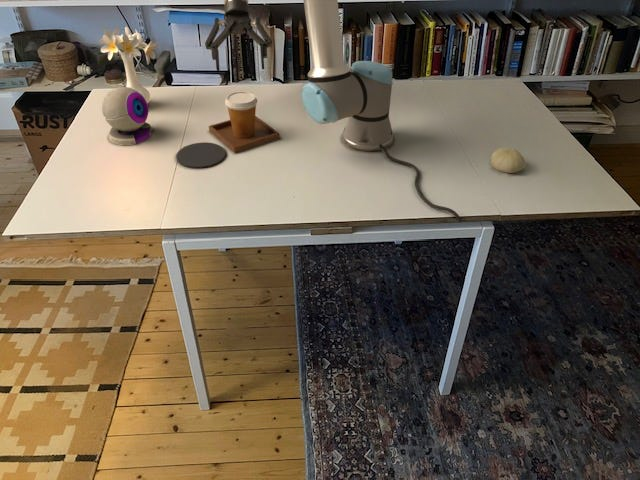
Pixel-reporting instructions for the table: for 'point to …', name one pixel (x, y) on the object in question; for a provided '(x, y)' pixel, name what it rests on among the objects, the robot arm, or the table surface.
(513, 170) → the sea urchin shell
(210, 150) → the coaster
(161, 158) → the table surface
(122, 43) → the flower vase
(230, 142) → the tray
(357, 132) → the robot arm
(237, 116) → the disposable coffee cup
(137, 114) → the webcam
